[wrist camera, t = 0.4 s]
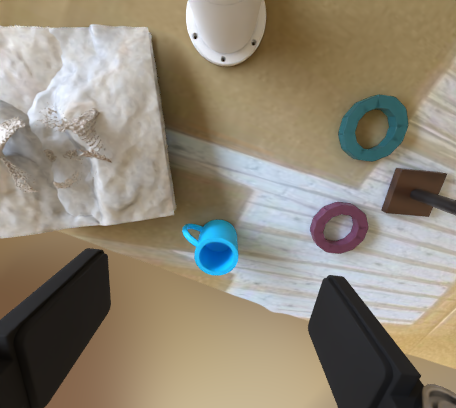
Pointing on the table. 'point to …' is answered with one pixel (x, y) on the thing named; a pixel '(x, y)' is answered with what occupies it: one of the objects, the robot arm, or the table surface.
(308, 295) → the table surface
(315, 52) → the table surface
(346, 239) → the plum ring
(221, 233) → the mug
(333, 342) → the robot arm
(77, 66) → the plastic wrap
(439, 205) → the peg stand
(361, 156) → the teal ring
